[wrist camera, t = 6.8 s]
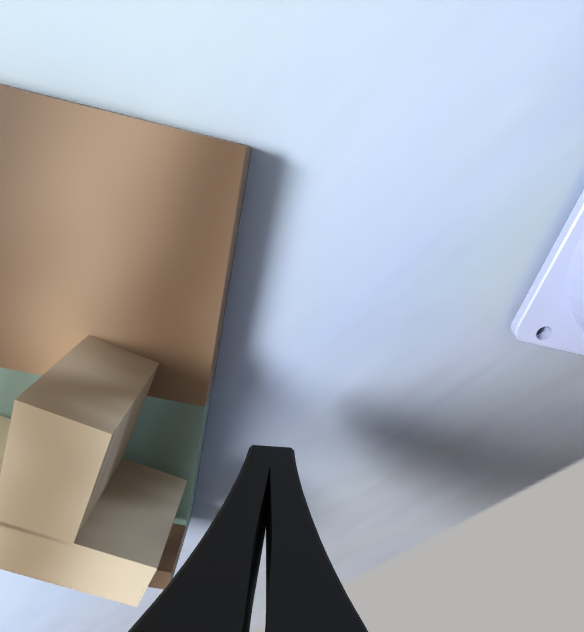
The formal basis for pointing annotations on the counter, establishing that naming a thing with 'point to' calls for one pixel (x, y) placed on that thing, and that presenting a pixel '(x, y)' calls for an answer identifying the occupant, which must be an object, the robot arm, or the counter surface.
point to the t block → (84, 478)
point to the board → (119, 263)
